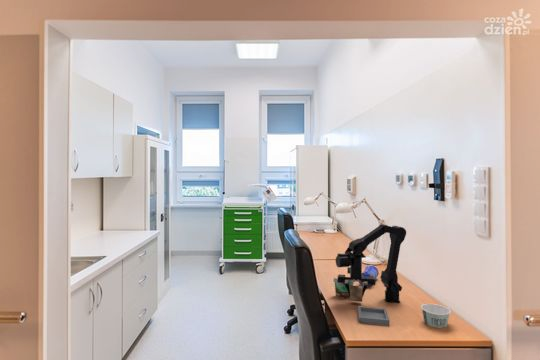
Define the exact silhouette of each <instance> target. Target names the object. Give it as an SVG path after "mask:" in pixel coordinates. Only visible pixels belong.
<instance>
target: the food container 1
mask: <svg viewBox="0 0 540 360" xmlns="http://www.w3.org/2000/svg"><path fill="white" fill-rule="evenodd" d="M333 282H334V293H335V296H336V297H338V298H341V299H350V296H349V293H348V290H347V288H346V286H345V285H343V283H338V278H336V277H334V278H333ZM355 282H356V281H349V288H350V285H352V286H354V283H355Z"/></svg>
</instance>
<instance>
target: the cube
mask: <svg viewBox="0 0 540 360" xmlns="http://www.w3.org/2000/svg"><path fill="white" fill-rule="evenodd" d="M362 289H363V286H361V285H353V286H352V285H350V298H349V301H350V302H357V303H358V302H361V303H362V302H363V297H362Z"/></svg>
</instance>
